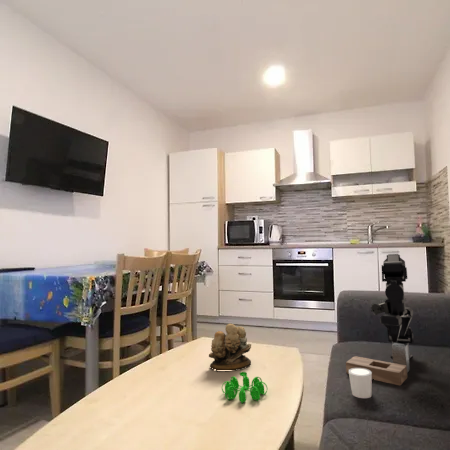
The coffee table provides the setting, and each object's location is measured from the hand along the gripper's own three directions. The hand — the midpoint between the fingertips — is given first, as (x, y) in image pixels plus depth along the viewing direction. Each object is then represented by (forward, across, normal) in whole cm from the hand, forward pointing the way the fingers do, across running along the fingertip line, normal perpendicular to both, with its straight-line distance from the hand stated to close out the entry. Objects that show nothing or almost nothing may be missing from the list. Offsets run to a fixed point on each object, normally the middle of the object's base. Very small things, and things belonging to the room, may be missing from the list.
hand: (399, 339), depth 125 cm
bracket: (+11, 0, 0) cm, 11 cm away
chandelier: (+11, +48, -34) cm, 60 cm away
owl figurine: (+11, +31, -55) cm, 64 cm away
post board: (+11, +10, -5) cm, 16 cm away
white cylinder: (+11, +27, -4) cm, 30 cm away
